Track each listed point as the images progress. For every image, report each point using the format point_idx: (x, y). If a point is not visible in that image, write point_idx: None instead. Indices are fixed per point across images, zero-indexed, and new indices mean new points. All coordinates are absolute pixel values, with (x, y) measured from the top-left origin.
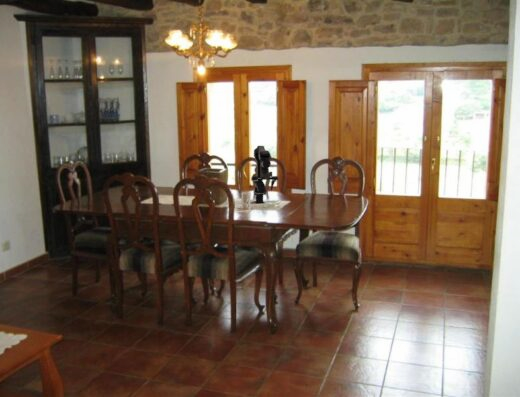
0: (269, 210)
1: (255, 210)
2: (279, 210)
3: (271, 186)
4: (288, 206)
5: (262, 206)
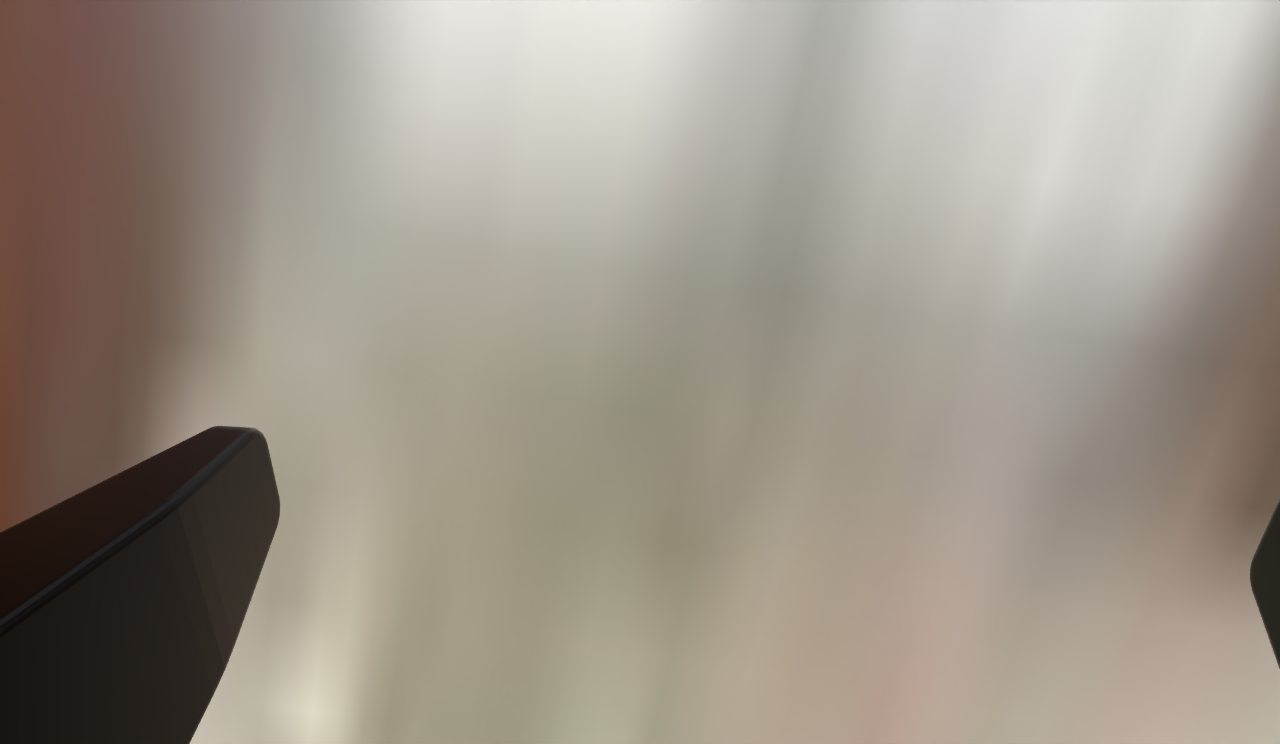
0: (597, 105)
1: (1048, 174)
2: (279, 56)
3: (44, 643)
4: None
5: (696, 663)
